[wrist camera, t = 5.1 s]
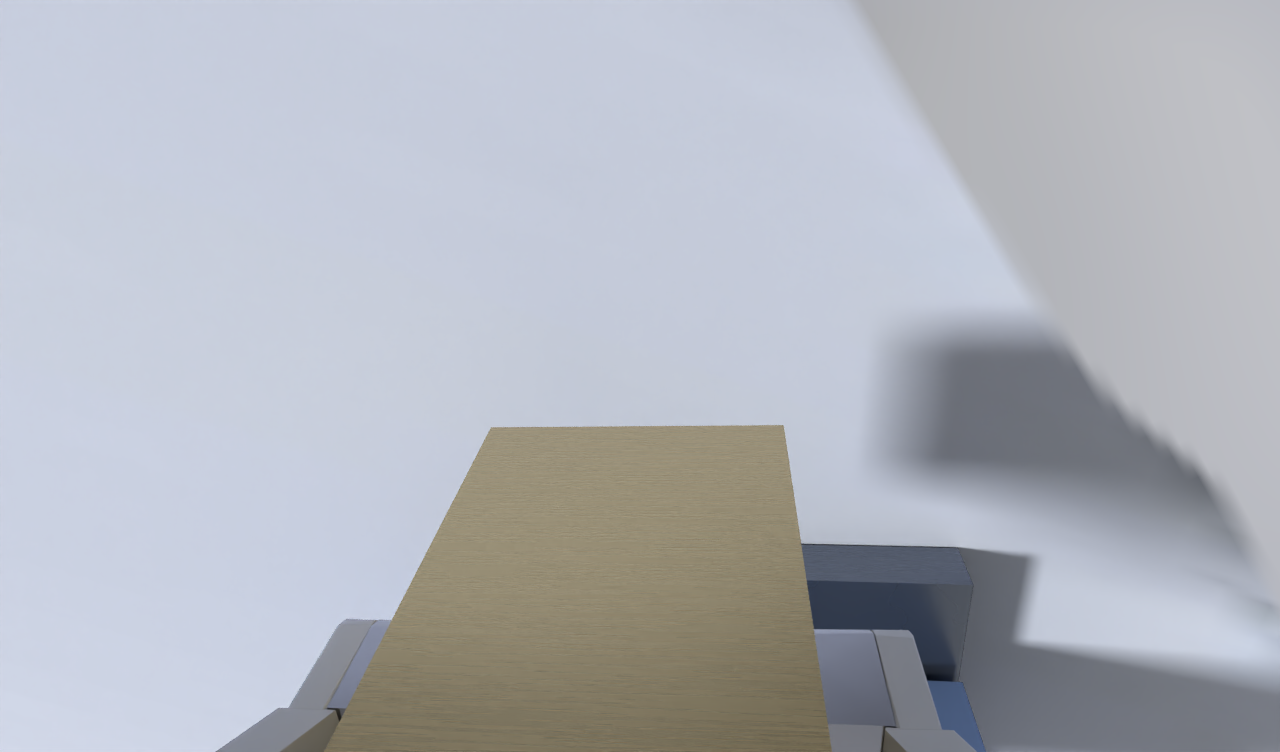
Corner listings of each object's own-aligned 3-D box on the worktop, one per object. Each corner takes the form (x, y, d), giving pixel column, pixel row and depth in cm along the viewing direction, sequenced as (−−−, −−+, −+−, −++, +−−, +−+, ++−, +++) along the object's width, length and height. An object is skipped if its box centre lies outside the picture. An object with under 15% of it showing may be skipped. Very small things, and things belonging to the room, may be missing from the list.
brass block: (491, 427, 13) (293, 809, 7) (783, 425, 13) (844, 836, 7) (520, 603, 15) (383, 1032, 9) (779, 607, 15) (823, 1068, 8)
